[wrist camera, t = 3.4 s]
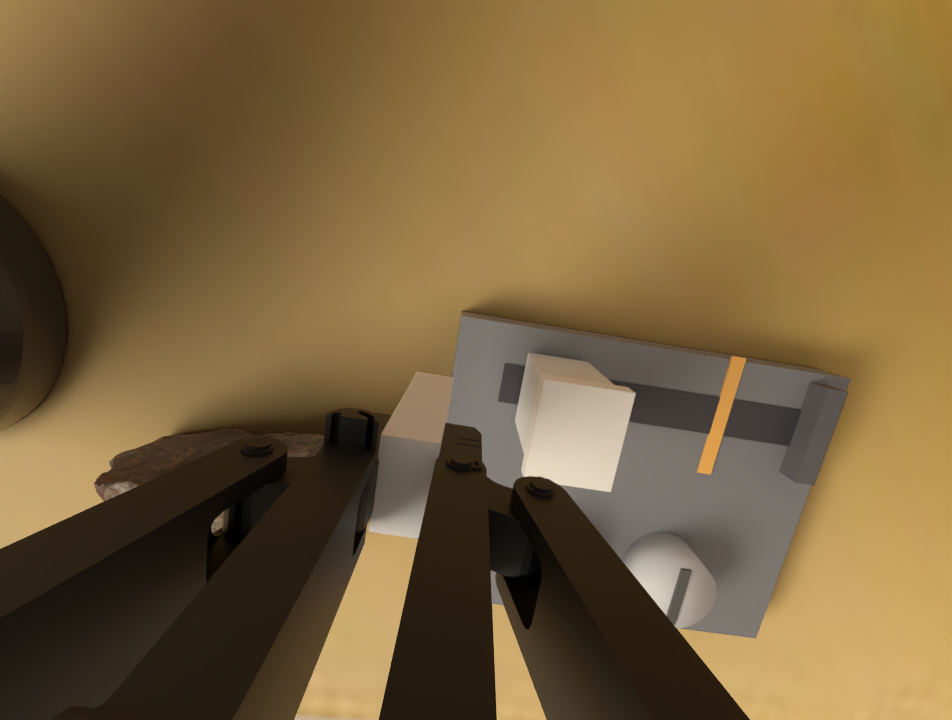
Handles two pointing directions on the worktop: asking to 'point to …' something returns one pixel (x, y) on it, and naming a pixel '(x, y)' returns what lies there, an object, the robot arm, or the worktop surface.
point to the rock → (186, 458)
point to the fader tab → (571, 422)
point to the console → (672, 458)
